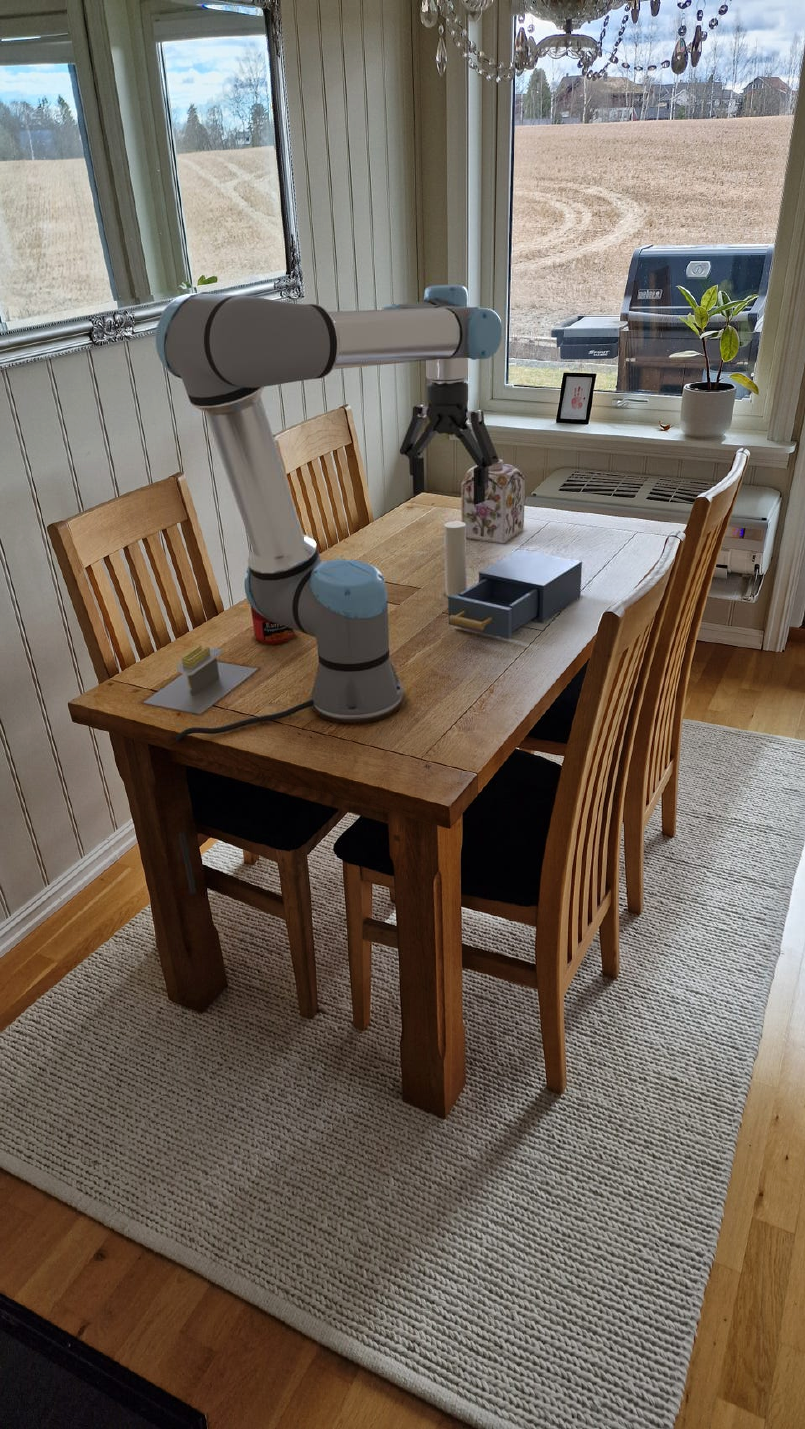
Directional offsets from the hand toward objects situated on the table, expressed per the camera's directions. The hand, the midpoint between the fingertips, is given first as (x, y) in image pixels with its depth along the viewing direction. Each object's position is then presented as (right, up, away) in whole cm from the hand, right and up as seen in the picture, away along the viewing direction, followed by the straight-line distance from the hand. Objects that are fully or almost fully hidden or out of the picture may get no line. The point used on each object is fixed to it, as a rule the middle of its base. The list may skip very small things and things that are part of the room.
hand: (448, 498), depth 182 cm
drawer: (+9, -23, +4) cm, 25 cm away
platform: (-44, -36, -12) cm, 58 cm away
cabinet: (+17, -18, +14) cm, 29 cm away
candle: (+3, -16, +20) cm, 25 cm away
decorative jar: (+13, +3, +53) cm, 55 cm away
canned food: (-33, -26, +5) cm, 43 cm away
